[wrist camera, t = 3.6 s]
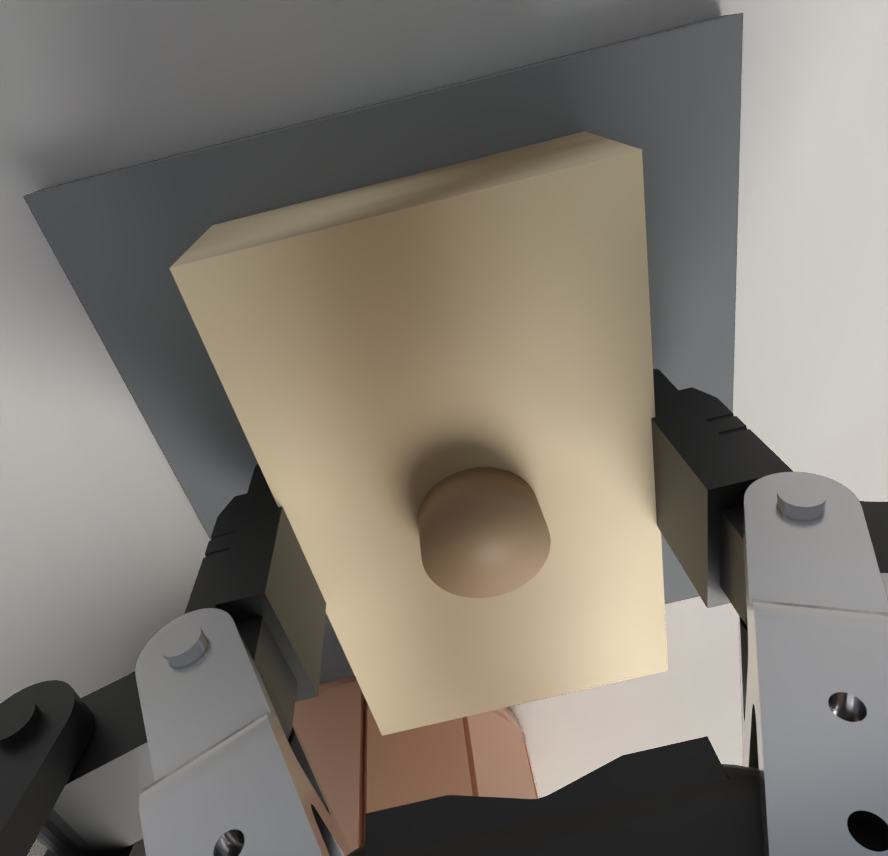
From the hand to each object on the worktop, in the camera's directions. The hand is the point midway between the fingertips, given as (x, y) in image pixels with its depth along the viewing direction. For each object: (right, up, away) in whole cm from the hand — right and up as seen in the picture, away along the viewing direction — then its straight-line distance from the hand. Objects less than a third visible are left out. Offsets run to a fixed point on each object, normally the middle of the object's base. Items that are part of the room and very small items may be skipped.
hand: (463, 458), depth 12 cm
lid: (0, 0, +1) cm, 1 cm away
